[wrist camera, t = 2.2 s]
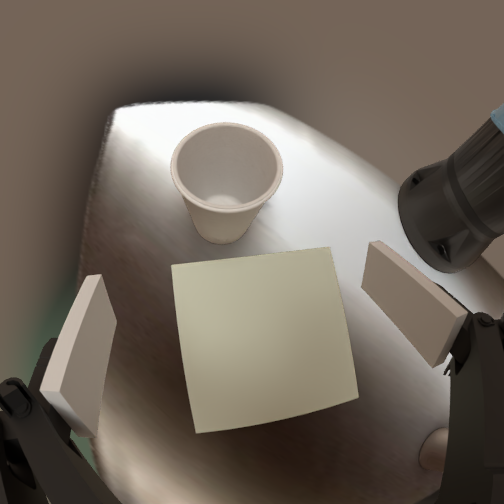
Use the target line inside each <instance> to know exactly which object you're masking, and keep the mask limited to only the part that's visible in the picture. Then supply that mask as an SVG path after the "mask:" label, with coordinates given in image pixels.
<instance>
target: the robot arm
mask: <svg viewBox="0 0 504 504" xmlns="http://www.w3.org/2000/svg"><path fill="white" fill-rule="evenodd" d="M490 116H491V117H490V118H489V119H488V120H487V121H486V122H485V123H484V124H483V125H482V126H481V127H480V128H479V129H478V130H477V131H476V132H475V133H474V134H473V135H472V136H471V137H470V138H469V139H468V140H466V141H465V142H464V143H463V144H462V145H461V146H460V147H459V148H458V149H457V150H456V151H455V152H454V153H453V154H452V155H451V156H450V157H449V158H447V159H445V160H442V161H439V162H437V163H434V164H431V165H428V166H426V167H423V168H420V169H418V170H417V171H415V172H414V173H413V174H411V175H410V176H409V177H408V178H407V179H406V180H405V182H404V183H403V184H402V186H401V189H400V192H399V200H398V203H399V213H400V217H401V221H402V224H403V227H404V230H405V232H406V234H407V236H408V238H409V240H410V242H411V244H412V245H413V247H414V248H415V250H416V251H417V252H418V254H419V255H420V256H421V257H422V258H423V259H424V260H425V261H426V262H427V263H428V264H429V265H430V266H432V267H433V268H435V269H437V270H439V271H441V272H445V273H455V272H458V271H460V270H462V269H465V268H467V267H468V266H470V265H471V264H472V263H474V261H475V260H476V259H477V258H478V257H479V256H480V255H481V254H482V252H483V251H484V250H485V249H486V248H487V247H488V246H489V244H490V243H491V242H492V241H493V240H494V239H495V238H497V237H499V236H501V235H502V234H504V103H503V104H502V105H501V106H500V107H499V108H498V109H497V110H493V111H492V113H491V114H490ZM361 288H362V289H363V290H364V291H365V292H366V293H367V294H368V295H369V296H370V297H371V298H372V299H373V301H374V302H375V303H376V304H377V305H378V306H379V307H380V308H381V309H382V310H383V312H384V313H385V314H386V315H387V316H388V317H389V318H390V319H391V321H392V322H393V323H394V324H395V325H396V326H397V327H398V328H399V330H400V331H401V332H402V333H403V334H404V335H405V337H406V338H407V339H408V340H409V341H410V342H411V343H412V345H413V346H414V347H415V348H416V349H417V351H418V352H419V353H420V354H421V355H422V356H423V358H424V359H425V360H426V361H427V362H428V364H429V365H430V366H431V367H432V368H434V367H436V366H438V365H440V364H442V363H443V362H444V361H445V359H446V357H447V355H448V354H449V352H450V353H451V354H452V356H453V357H452V359H451V361H450V362H449V364H448V366H447V368H446V369H445V371H444V375H446V374H447V372H448V370H450V374H449V375H448V376H450V379H451V387H450V417H449V431H448V441H447V450H446V458H445V464H444V471H443V476H442V482H441V487H440V492H439V496H438V499H437V501H436V502H435V504H504V313H503V315H502V317H501V319H498V320H494V319H493V318H492V317H491V316H489V315H488V314H486V313H483V312H477V313H475V314H473V313H472V312H471V311H469V310H468V309H467V308H466V307H465V306H464V305H463V304H462V303H460V302H459V301H458V300H457V299H456V298H453V296H452V295H451V294H450V293H448V291H446V290H445V289H444V288H443V287H442V286H440V285H438V284H436V283H434V282H433V281H431V280H430V279H429V278H428V277H426V276H425V275H424V274H423V273H421V272H420V271H419V270H418V269H416V268H415V267H414V266H413V265H411V264H410V263H409V262H408V261H406V260H405V259H404V258H402V257H401V256H400V255H399V254H397V253H396V252H395V251H393V250H392V249H391V248H389V247H388V246H387V245H385V244H384V243H383V242H381V241H376V242H369V246H368V252H367V258H366V264H365V270H364V275H363V280H362V285H361ZM116 323H117V321H116V318H115V315H114V312H113V309H112V306H111V303H110V300H109V297H108V294H107V291H106V288H105V285H104V281H103V278H102V275H101V274H100V275H91V276H87V277H86V279H85V281H84V283H83V285H82V287H81V289H80V291H79V293H78V295H77V297H76V299H75V301H74V303H73V306H72V308H71V310H70V312H69V315H68V317H67V319H66V321H65V323H64V326H63V328H62V331H61V333H60V335H59V338H51V339H50V340H49V341H48V342H47V343H46V345H45V346H44V347H43V349H42V352H41V354H40V359H38V362H37V364H36V365H37V367H35V369H34V372H33V375H32V377H31V380H30V383H29V386H28V388H27V387H26V385H25V384H24V383H23V381H22V380H21V379H19V378H9V379H6V380H5V381H3V382H2V383H1V384H0V408H1V409H2V410H3V411H0V504H49V503H48V500H47V498H46V496H47V497H48V499H49V501H50V502H51V504H122V503H121V502H120V501H119V500H118V499H117V498H116V497H115V495H114V494H113V493H112V492H111V491H110V490H109V488H108V487H107V486H106V485H105V484H104V482H103V481H102V480H101V479H100V477H99V476H98V475H97V474H96V472H95V471H94V470H93V468H92V467H91V466H90V464H89V463H88V462H87V460H86V459H85V458H84V456H83V455H82V453H81V452H80V450H79V449H78V448H77V446H76V445H75V443H74V442H73V440H71V438H70V432H71V429H72V430H73V431H74V432H75V433H76V435H77V436H78V437H89V438H97V430H98V422H99V414H100V407H101V400H102V394H103V387H104V381H105V376H106V370H107V365H108V360H109V355H110V350H111V345H112V341H113V336H114V332H115V328H116ZM45 494H46V495H45Z"/></svg>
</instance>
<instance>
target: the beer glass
mask: <svg viewBox="0 0 504 504" xmlns="http://www.w3.org/2000/svg"><path fill="white" fill-rule="evenodd" d="M448 431H449V428H439V429H437V430H435V431H434V432H433V433H431V434H430V436H429V437H428V438H427V439H426V441H425V442H424V444H423V446H422V448H421V451H420V455H419V463H420V465H421V467H422V468H423V469H426V470H432V471H439V472H443V471H444V464H445V458H446V450H447V441H448Z"/></svg>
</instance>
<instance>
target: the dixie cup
mask: <svg viewBox="0 0 504 504" xmlns="http://www.w3.org/2000/svg"><path fill="white" fill-rule="evenodd" d="M171 175H172V179H173V182H174V184H175V186H176V187H177V189H178V190H179V192H180V193H181V194H182V196H183V199H184V201H185V204H186V206H187V208H188V211H189V213H190V215H191V218H192V220H193V222H194V225H195V227H196V229H197V231H198V233H199V234H200V235H201V236H202V237H203V238H204V239H205V240H207V241H209V242H211V243H215V244H229V243H232V242H234V241H236V240H238V239H239V238H241V237H242V236H243V234H244V233H245V232H246V230H247V229H248V227H249V226H250V224H251V223H252V221H253V220H254V218H255V217H256V215H257V214H258V212H259V211H260V209H261V208H262V206H263V205H264V203H265V202H266V201H267V200H268V199H270V198H271V197H272V195H273V194H274V193H275V192H276V190H277V189H278V187H279V185H280V183H281V180H282V175H283V164H282V159H281V156H280V154H279V152H278V150H277V148H276V147H275V145H274V144H273V143H272V142H271V141H270V140H269V139H268V138H267V137H266V136H265V135H264V134H262V133H261V132H259V131H257V130H255V129H253V128H251V127H248V126H245V125H242V124H237V123H227V122H223V123H214V124H209V125H205V126H202V127H200V128H198V129H196V130H194V131H192V132H191V133H189V134H188V135H187V136H185V137H184V138H183V139H182V140H181V141H180V143H179V144H178V145H177V147H176V149H175V150H174V153H173V155H172V159H171Z"/></svg>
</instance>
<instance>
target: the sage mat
mask: <svg viewBox="0 0 504 504" xmlns="http://www.w3.org/2000/svg"><path fill="white" fill-rule="evenodd" d="M171 267H172V278H173V289H174V298H175V307H176V316H177V324H178V331H179V339H180V346H181V353H182V359H183V366H184V372H185V378H186V384H187V389H188V395H189V400H190V406H191V411H192V416H193V421H194V425H195V430H196V433H204V432H212V431H220V430H228V429H234V428H241V427H247V426H252V425H258V424H263V423H268V422H273V421H278V420H282V419H286V418H291V417H295V416H299V415H303V414H307V413H310V412H314V411H318V410H321V409H325V408H328V407H332V406H335V405H338V404H341V403H344V402H347V401H350V400H353V399H356V398H359V395H358V388H357V381H356V375H355V368H354V362H353V356H352V350H351V345H350V339H349V334H348V328H347V323H346V318H345V313H344V308H343V303H342V298H341V294H340V289H339V285H338V280H337V276H336V271H335V267H334V263H333V259H332V254H331V250H330V247H323V248H314V249H306V250H297V251H289V252H280V253H272V254H263V255H255V256H246V257H237V258H229V259H220V260H211V261H202V262H193V263H185V264H176V265H171Z"/></svg>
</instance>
